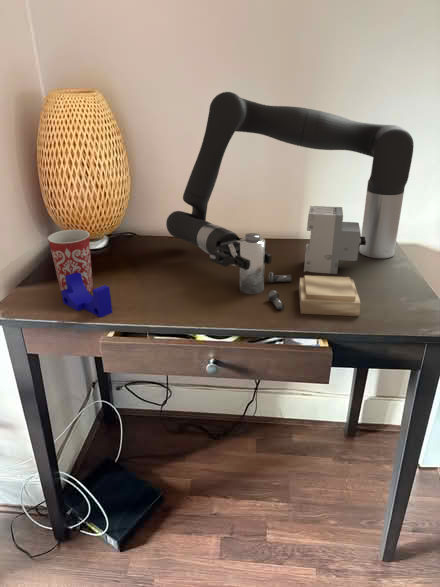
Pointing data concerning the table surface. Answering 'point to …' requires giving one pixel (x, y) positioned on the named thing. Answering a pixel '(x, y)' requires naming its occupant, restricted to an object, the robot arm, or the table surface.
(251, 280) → the silver metal bottle
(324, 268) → the circuit breaker
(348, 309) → the stand
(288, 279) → the bolt
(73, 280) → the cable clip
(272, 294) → the bolt
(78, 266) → the mug
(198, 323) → the table surface
